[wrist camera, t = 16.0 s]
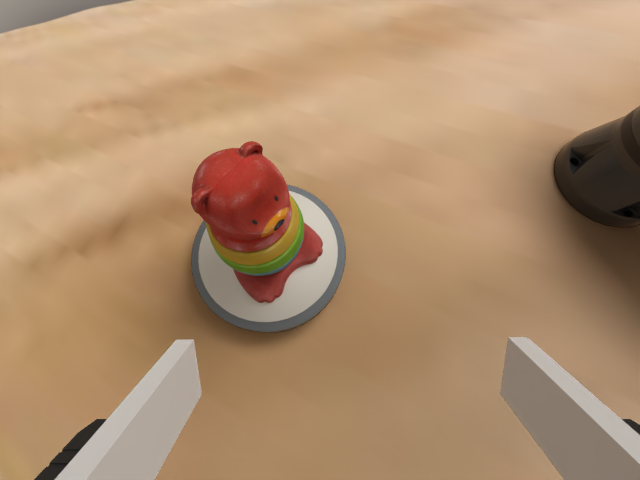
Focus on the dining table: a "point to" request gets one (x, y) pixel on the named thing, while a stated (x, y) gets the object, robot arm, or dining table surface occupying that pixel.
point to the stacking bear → (253, 220)
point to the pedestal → (300, 288)
